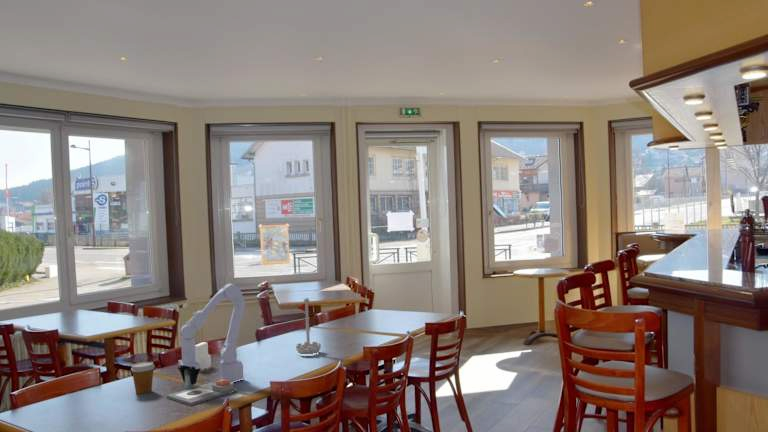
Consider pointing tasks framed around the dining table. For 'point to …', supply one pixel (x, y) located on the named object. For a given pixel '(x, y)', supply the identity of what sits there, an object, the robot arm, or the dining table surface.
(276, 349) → the dining table surface
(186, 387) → the salt shaker
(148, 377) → the disposable coffee cup
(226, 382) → the button
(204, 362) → the base with upright slab
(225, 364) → the robot arm
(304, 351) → the flag stand
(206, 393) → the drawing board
